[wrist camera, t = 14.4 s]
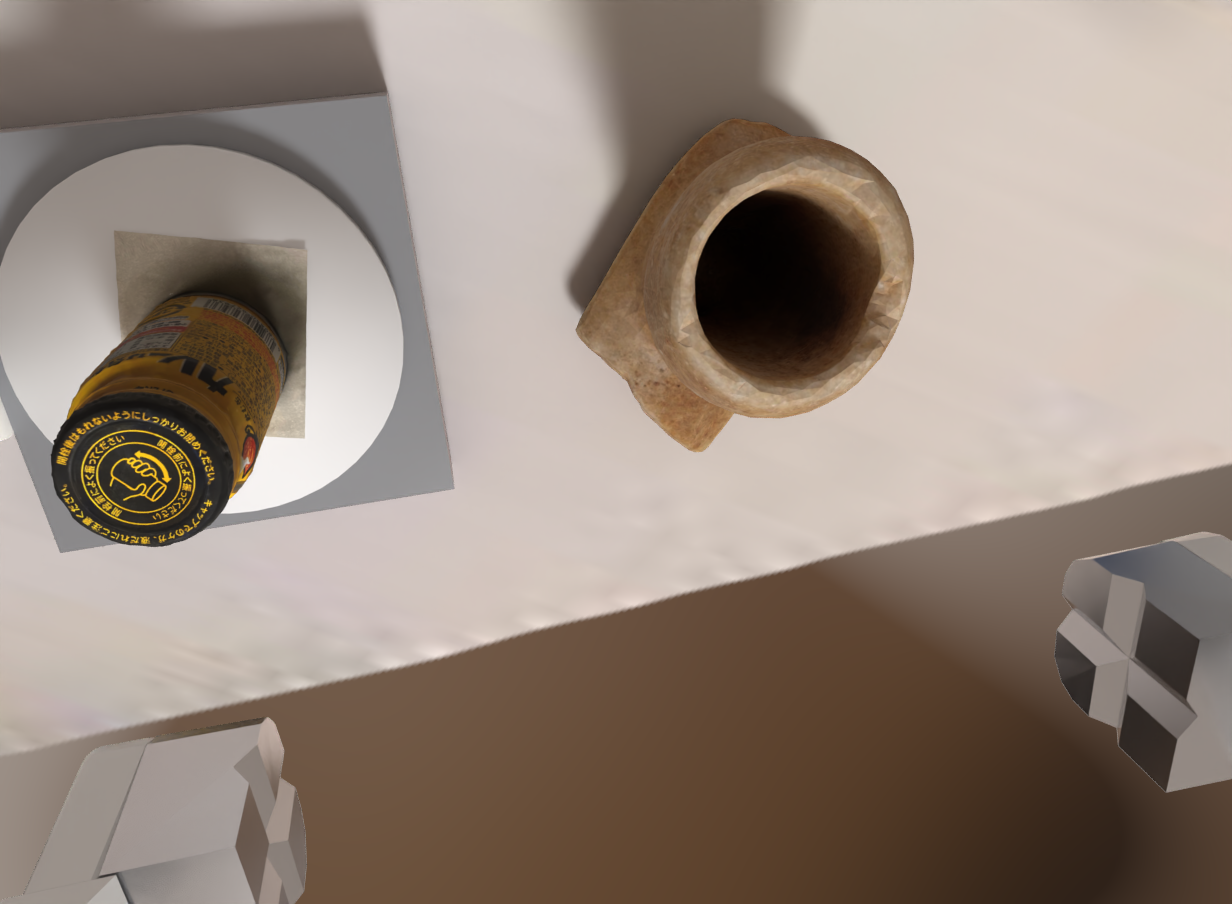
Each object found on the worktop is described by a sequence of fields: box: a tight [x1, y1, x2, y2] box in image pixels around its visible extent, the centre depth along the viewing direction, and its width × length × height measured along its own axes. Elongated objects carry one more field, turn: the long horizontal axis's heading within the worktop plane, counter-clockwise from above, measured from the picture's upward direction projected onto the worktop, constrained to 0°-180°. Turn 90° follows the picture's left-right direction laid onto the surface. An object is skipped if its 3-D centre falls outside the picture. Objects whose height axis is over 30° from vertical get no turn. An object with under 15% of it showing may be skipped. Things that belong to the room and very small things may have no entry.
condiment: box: [50, 230, 307, 547], centre depth 34 cm, size 7×8×12 cm
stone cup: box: [576, 119, 914, 452], centre depth 40 cm, size 15×12×15 cm
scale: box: [0, 92, 454, 553], centre depth 40 cm, size 18×19×6 cm
